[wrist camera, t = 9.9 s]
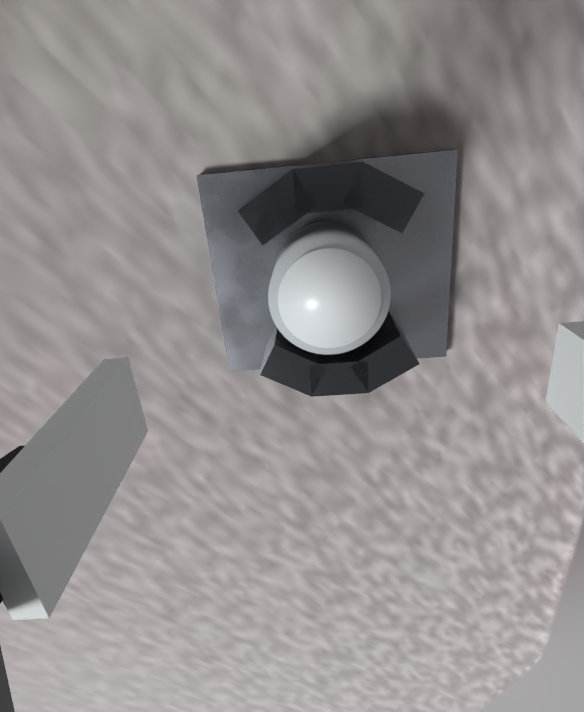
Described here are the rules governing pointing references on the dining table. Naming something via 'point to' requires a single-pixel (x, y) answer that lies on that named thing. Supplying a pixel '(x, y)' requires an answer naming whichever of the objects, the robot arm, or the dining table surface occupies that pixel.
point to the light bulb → (328, 289)
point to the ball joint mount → (368, 217)
